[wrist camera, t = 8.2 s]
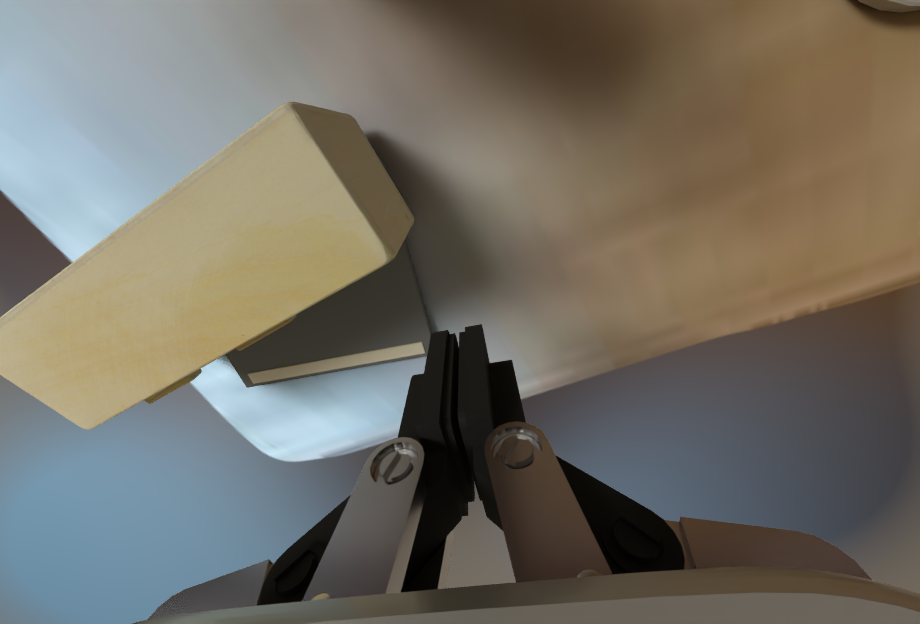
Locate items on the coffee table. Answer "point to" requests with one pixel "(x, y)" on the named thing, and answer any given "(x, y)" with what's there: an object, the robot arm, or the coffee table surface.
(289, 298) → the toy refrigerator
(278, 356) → the mat
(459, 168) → the coffee table surface
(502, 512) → the robot arm
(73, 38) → the coffee table surface
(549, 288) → the coffee table surface
